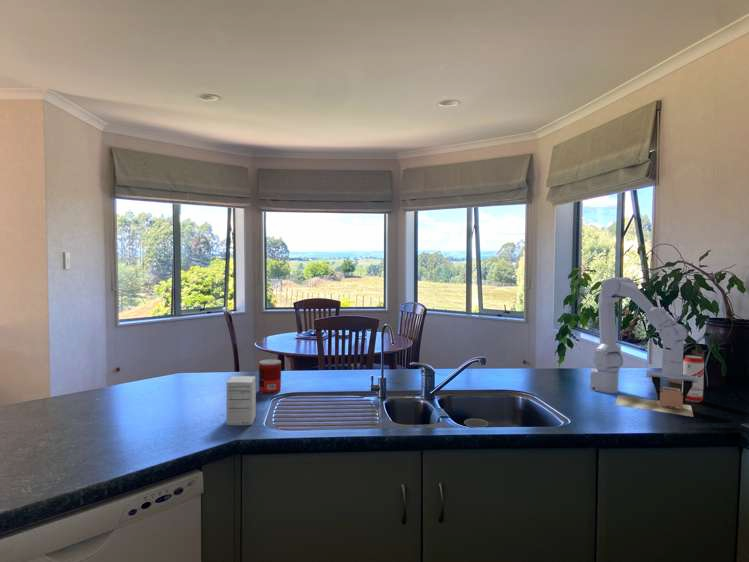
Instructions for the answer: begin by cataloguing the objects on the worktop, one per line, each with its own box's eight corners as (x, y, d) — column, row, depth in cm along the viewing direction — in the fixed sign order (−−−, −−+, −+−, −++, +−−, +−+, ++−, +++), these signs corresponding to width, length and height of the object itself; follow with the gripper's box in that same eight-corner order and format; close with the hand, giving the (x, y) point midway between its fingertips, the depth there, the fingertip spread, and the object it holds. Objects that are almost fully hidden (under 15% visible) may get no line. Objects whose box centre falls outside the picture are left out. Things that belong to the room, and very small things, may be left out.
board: (614, 408, 158) (615, 395, 158) (617, 398, 170) (618, 386, 170) (693, 420, 146) (694, 407, 146) (690, 409, 158) (691, 396, 158)
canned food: (284, 389, 173) (285, 360, 172) (271, 395, 165) (271, 364, 165) (268, 387, 176) (268, 358, 175) (254, 392, 169) (254, 362, 168)
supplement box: (231, 417, 141) (231, 375, 141) (256, 416, 142) (256, 375, 142) (225, 425, 134) (225, 382, 134) (251, 425, 135) (252, 382, 134)
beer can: (705, 403, 165) (707, 358, 165) (686, 402, 166) (688, 357, 166) (697, 398, 171) (699, 355, 171) (678, 397, 173) (680, 354, 172)
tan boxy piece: (659, 404, 155) (660, 389, 155) (659, 400, 159) (660, 385, 159) (682, 408, 151) (683, 392, 151) (681, 404, 156) (682, 388, 156)
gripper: (646, 360, 155) (645, 400, 156) (699, 365, 148) (698, 408, 148) (647, 356, 161) (645, 395, 162) (698, 362, 154) (696, 402, 154)
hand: (670, 401), depth 155 cm, fingers closed on tan boxy piece, 6 cm apart
